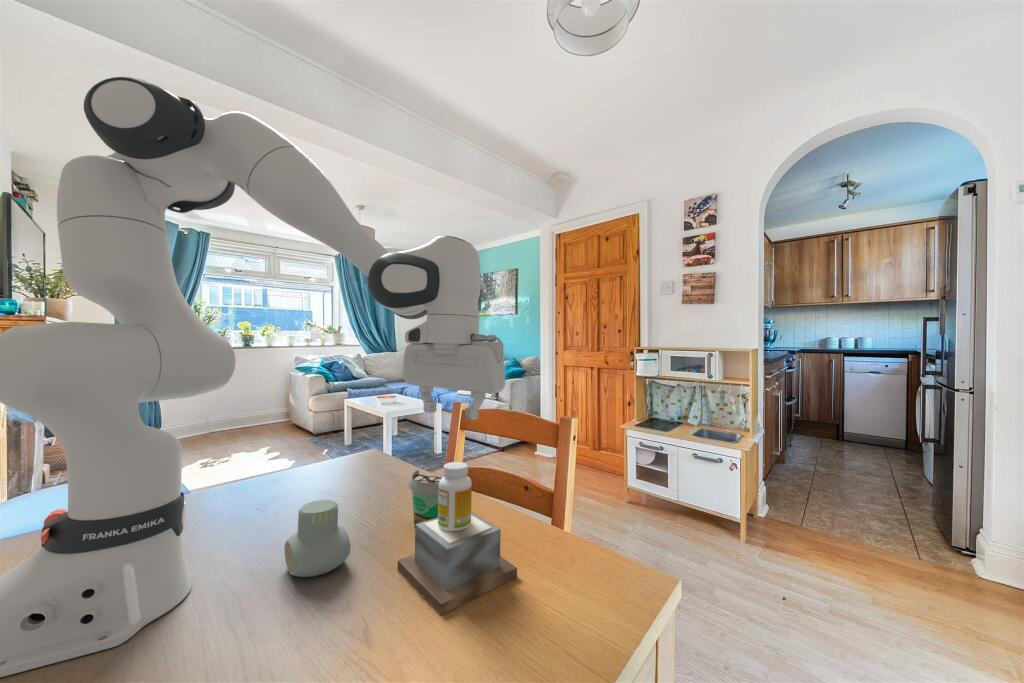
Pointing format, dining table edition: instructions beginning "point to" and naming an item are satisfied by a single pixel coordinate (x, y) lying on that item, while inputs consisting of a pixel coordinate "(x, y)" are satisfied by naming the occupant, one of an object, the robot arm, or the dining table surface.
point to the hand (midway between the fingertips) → (450, 415)
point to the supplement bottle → (454, 498)
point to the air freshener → (317, 541)
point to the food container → (424, 496)
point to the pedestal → (456, 563)
